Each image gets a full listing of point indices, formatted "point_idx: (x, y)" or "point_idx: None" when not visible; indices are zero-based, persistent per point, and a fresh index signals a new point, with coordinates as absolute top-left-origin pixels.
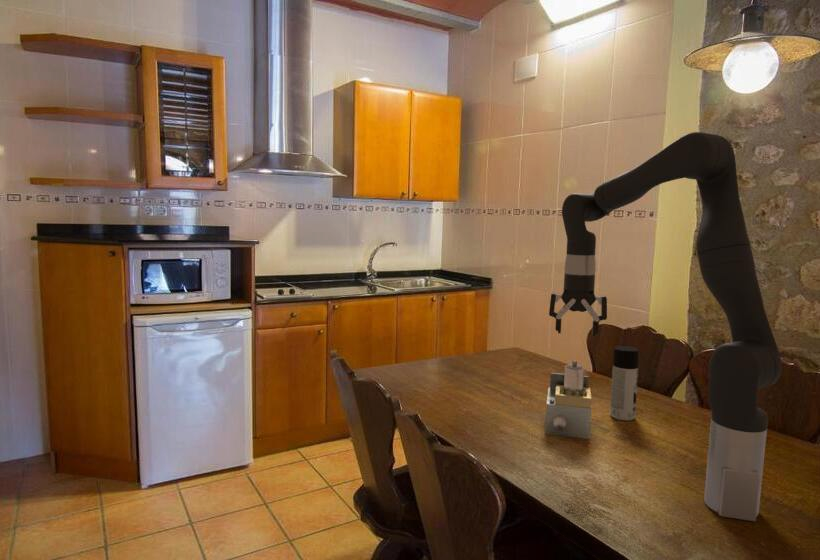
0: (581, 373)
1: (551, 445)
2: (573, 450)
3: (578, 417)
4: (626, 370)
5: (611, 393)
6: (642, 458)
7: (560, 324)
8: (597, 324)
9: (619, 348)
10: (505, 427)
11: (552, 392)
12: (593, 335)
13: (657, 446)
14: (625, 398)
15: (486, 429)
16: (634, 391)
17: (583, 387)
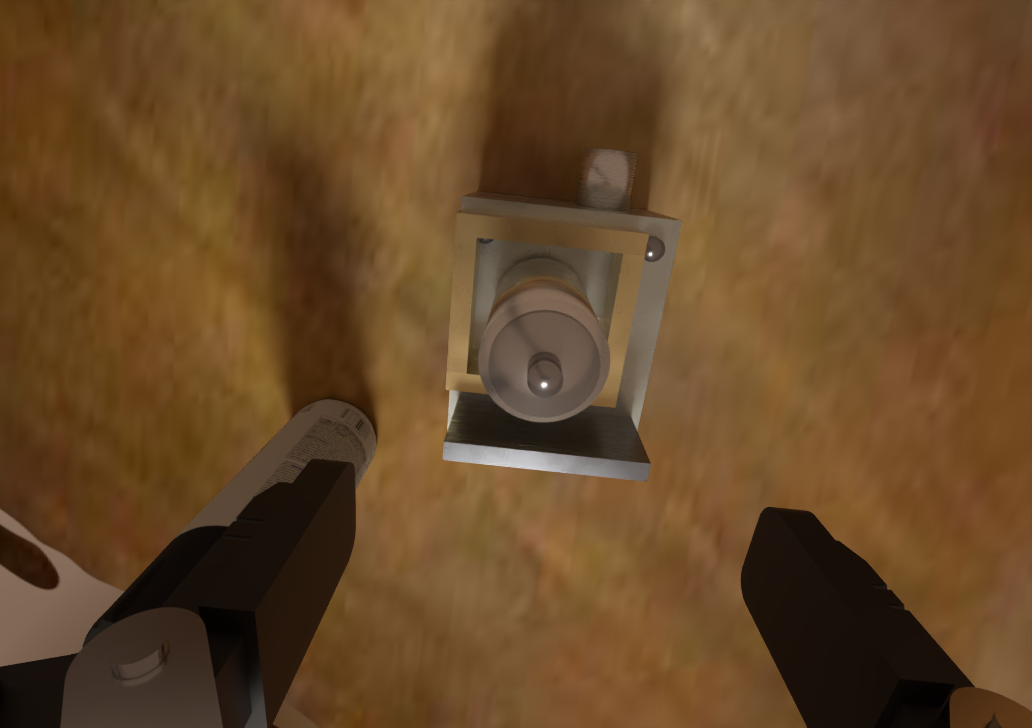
0: (501, 308)
1: (639, 86)
2: (556, 53)
3: (522, 200)
4: (228, 521)
5: None
6: (292, 36)
7: (851, 599)
8: (200, 584)
9: None
10: (801, 239)
11: (622, 397)
12: (338, 463)
13: (230, 178)
14: (295, 439)
15: (888, 200)
16: (244, 467)
17: (478, 390)
